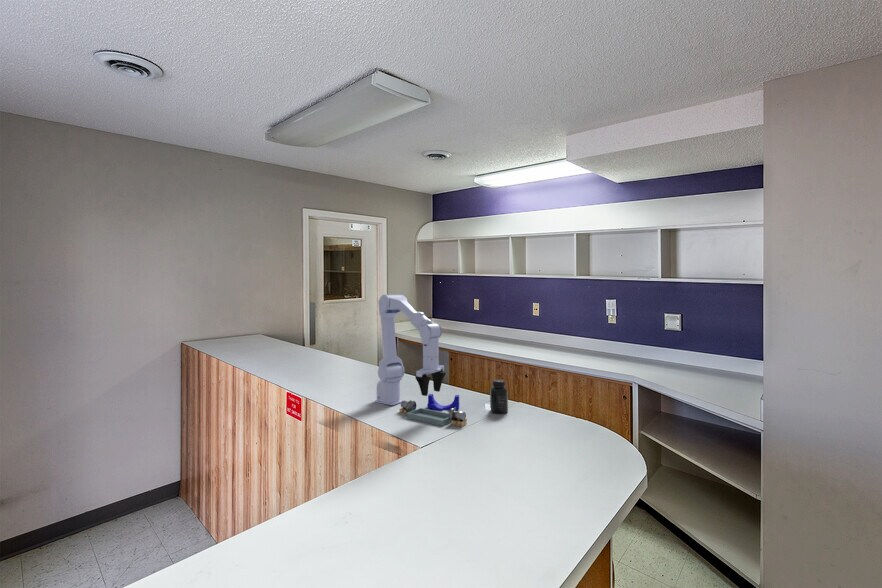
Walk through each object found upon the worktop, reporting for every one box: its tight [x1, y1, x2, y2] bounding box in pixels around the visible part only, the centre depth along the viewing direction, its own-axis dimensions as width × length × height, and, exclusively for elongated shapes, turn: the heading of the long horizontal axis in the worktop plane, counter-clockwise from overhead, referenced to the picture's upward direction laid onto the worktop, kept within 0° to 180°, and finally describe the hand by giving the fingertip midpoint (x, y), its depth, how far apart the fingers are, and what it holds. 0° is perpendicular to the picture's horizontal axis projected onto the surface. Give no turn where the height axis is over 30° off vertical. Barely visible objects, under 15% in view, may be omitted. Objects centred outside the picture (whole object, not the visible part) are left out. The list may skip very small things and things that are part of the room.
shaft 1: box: [399, 399, 417, 416], centre depth 158 cm, size 5×4×5 cm
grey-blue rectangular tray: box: [406, 407, 452, 427], centre depth 151 cm, size 16×8×2 cm, turn 55°
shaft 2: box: [448, 408, 468, 428], centre depth 145 cm, size 5×4×5 cm
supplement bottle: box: [489, 379, 509, 415], centre depth 160 cm, size 7×7×12 cm
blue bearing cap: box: [426, 393, 460, 412], centre depth 162 cm, size 12×4×6 cm, turn 81°
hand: (430, 393), depth 151 cm, fingers open, 7 cm apart
